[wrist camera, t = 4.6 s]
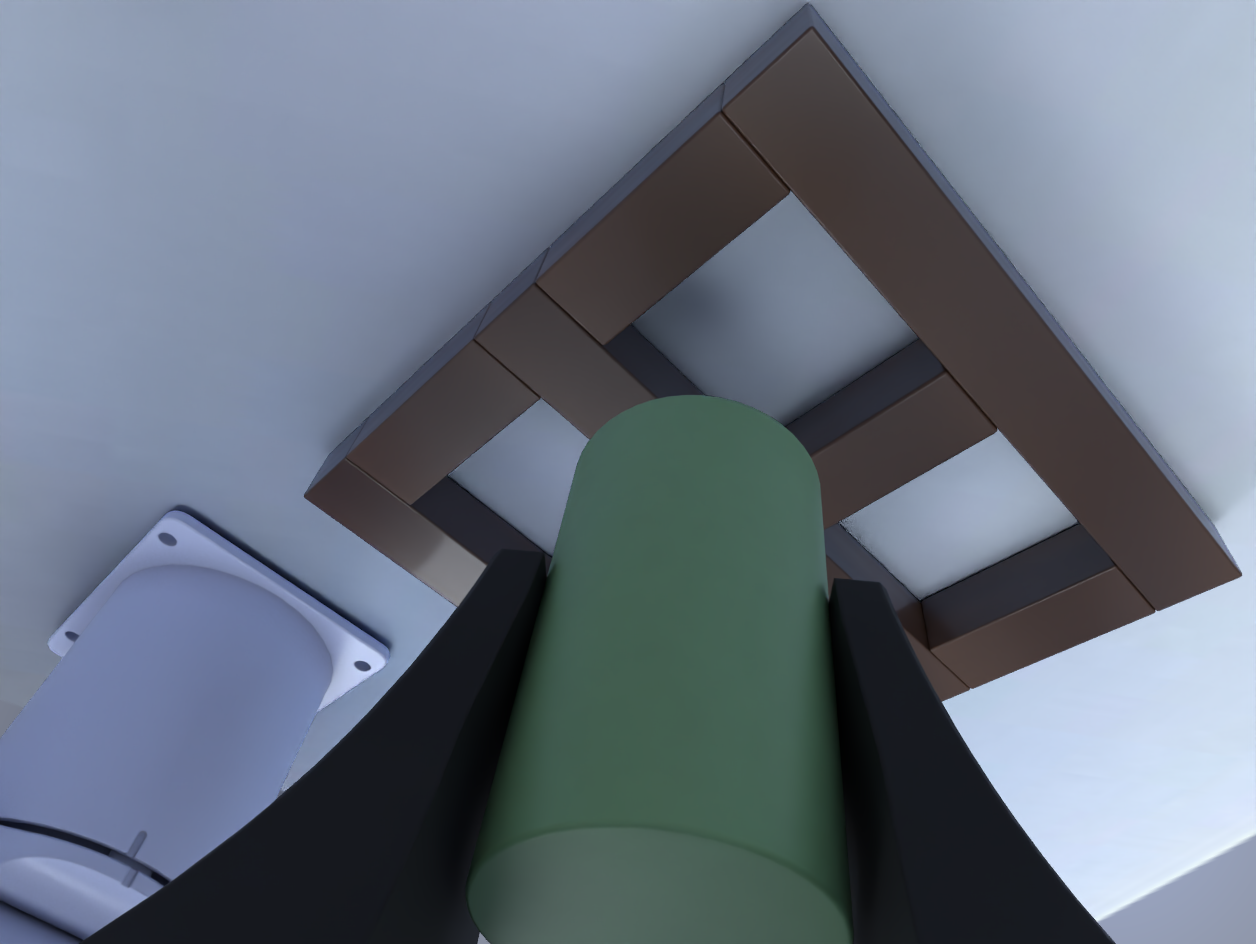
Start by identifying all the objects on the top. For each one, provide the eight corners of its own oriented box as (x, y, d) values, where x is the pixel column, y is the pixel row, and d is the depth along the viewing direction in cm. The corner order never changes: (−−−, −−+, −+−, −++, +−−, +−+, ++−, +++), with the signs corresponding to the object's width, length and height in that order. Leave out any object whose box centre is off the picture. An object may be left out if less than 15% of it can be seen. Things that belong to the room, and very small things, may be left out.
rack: (721, 747, 30) (719, 795, 29) (328, 454, 24) (301, 497, 23) (1214, 524, 22) (1244, 576, 21) (808, 0, 16) (812, 24, 15)
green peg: (687, 614, 16) (648, 1038, 11) (525, 482, 15) (387, 898, 10) (871, 510, 14) (937, 966, 9) (706, 344, 13) (664, 774, 7)
